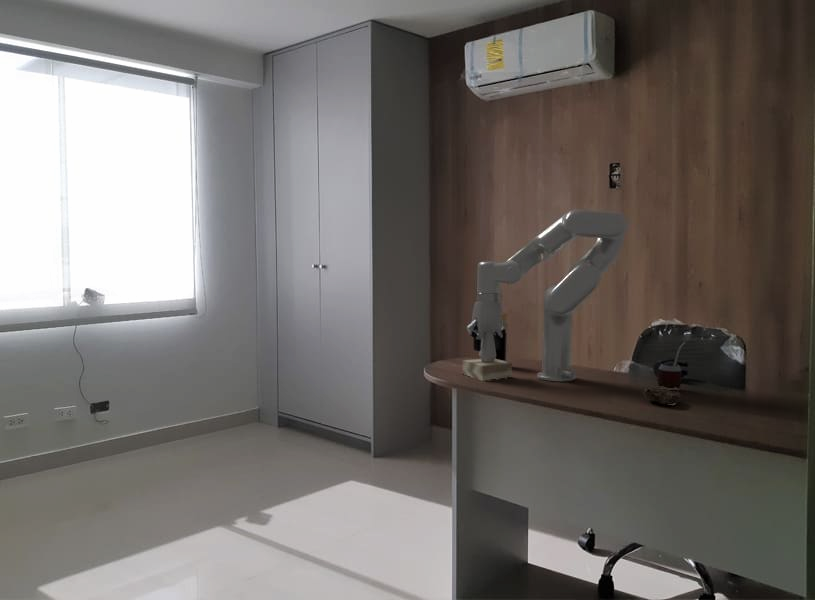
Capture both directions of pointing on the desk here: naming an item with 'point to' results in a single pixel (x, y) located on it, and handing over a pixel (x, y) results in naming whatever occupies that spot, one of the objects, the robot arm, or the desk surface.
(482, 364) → the maple block
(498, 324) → the robot arm
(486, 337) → the salt shaker
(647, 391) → the concrete sample
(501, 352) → the battery
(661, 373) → the mate gourd
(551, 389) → the desk surface
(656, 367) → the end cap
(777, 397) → the desk surface
